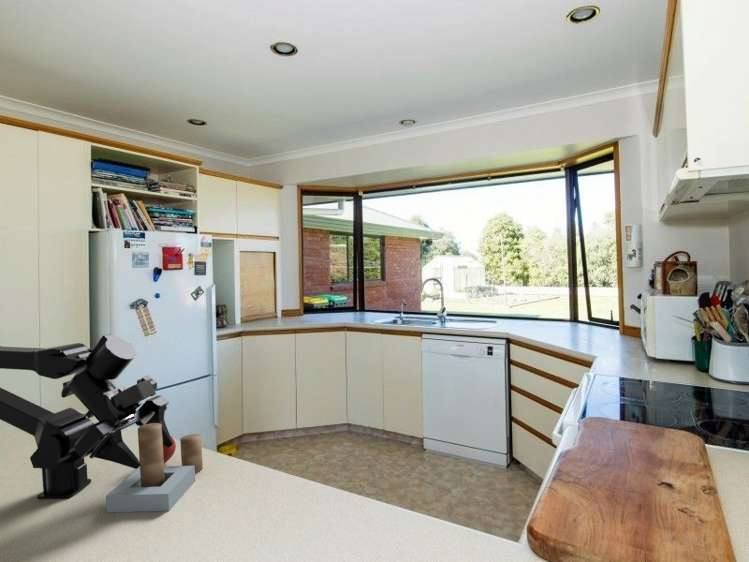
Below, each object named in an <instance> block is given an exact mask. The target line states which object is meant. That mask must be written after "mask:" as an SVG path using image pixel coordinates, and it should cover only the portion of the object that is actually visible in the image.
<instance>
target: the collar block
mask: <svg viewBox="0 0 749 562" xmlns="http://www.w3.org/2000/svg"><path fill="white" fill-rule="evenodd" d="M164 475H165V483H164V484H163V485H162V486H161V487H141V478H140V467H139V468H138V469H135V471H134V472H132V473H131V474H130V475H128V477H127V478H125V479H124V480H123V481H122V482H121V483H119V484H118V485H116V487H115V488H113V489H112V490H111V491H110V492H109V493H107V494H106V495H105V502H106V513H134V511H135V512H136V513H137V512H139V511H141V512H166V511H168V512H169V511H170V510H172V509H173V507H174V506H175V504H176V503H178V501H179V500H180V499H181V498H182V496H183V495H184V494H185V493H186V492H187V491H188V490H189V489H190V487H191V486H192V485H193V484H194V483H195V482H196V474H195V466H182V465H174V466H172V465H171V466H170V465H169V466H167V465H166V466H164ZM194 481H195V482H194ZM193 482H194V483H193ZM192 483H193V484H192ZM191 484H192V485H191ZM187 489H188V490H187ZM139 513H140V512H139Z"/></svg>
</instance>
